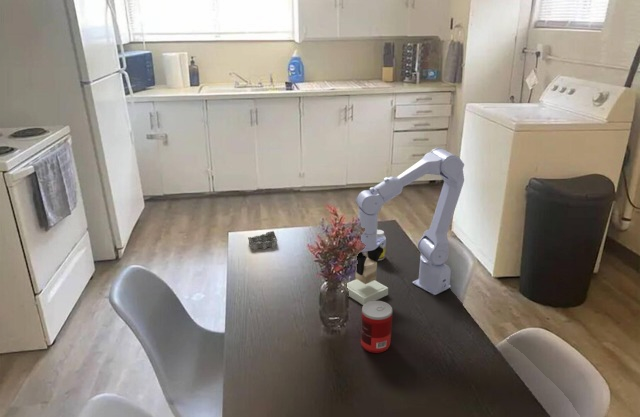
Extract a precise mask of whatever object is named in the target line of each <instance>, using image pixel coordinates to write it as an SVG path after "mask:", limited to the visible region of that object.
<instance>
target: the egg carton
mask: <svg viewBox="0 0 640 417" xmlns="http://www.w3.org/2000/svg"><path fill="white" fill-rule="evenodd" d="M247 239H248V246H249V249H250V250H254V251H256V250H258V249H267V248H268V247H270V248H273V249H274V248H276V247H277V246H278V238H277V235H276V233H275V232H274V231H268V232H266V233H263V234H259V235H255V236H252V237H251V236H249V237H247Z"/></svg>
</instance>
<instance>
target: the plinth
mask: <svg viewBox="0 0 640 417" xmlns="http://www.w3.org/2000/svg"><path fill="white" fill-rule="evenodd" d="M346 283H347V288H348V291H349V296H348V297H350V298H351V299H353V300H354V301H356V302H358V303H359V304H361V305H362V306H363V305H364V304H366V303H367V302H370V301H379V300H380V299H382V298H384V297H386V296H388V295H389V287H387V286H386V285H384V284H382V283H380V282H379V281H377V280H374V281H372V282H369V283H367V284H364V283H362V282H361V281H359V280H357V279H356V278H355V279H353V280H351V281H349V282H346Z"/></svg>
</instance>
